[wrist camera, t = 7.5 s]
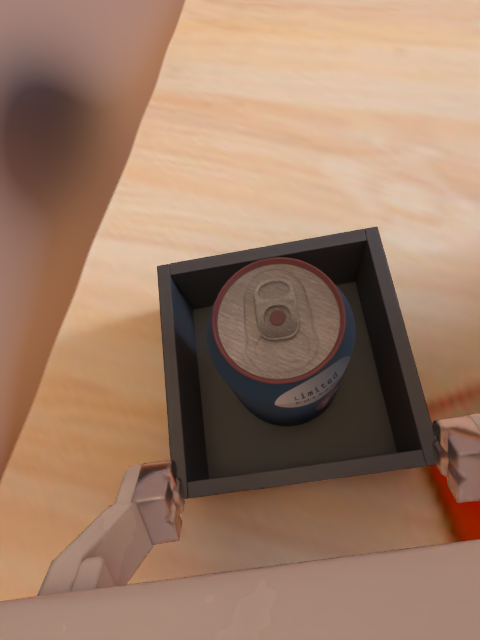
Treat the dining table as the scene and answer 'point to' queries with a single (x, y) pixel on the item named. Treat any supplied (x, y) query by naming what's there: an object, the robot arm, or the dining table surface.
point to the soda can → (281, 339)
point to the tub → (323, 431)
